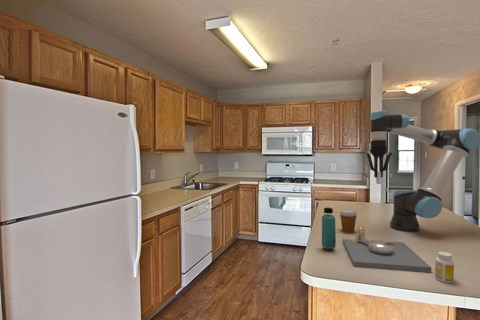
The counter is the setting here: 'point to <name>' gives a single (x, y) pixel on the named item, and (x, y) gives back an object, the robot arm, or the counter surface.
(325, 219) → the beverage bottle
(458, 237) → the counter surface
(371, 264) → the stand
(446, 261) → the supplement bottle
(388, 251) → the metal ladle
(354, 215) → the disposable coffee cup
